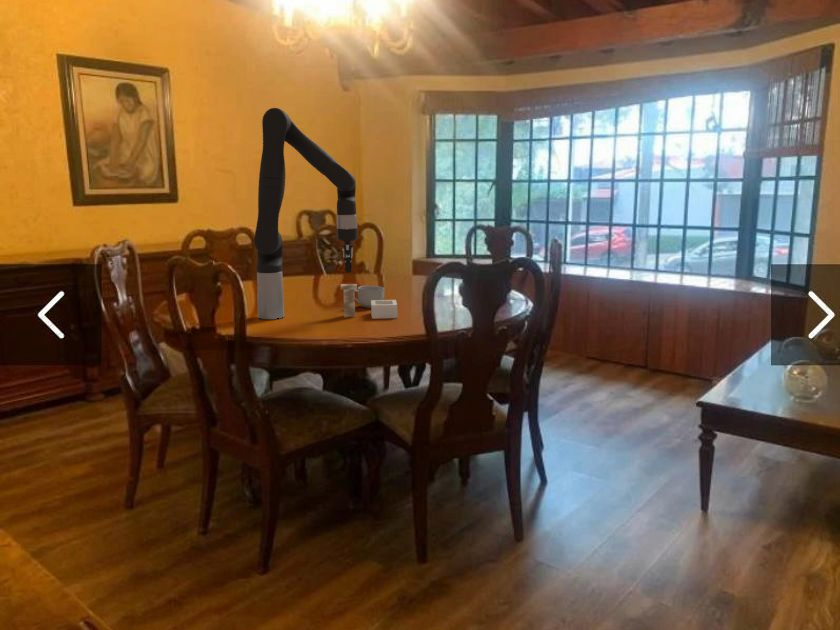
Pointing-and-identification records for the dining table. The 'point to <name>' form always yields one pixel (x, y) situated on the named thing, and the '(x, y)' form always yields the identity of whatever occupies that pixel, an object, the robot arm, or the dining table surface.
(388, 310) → the well
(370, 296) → the teacup
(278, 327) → the dining table surface
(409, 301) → the dining table surface
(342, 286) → the bracket
